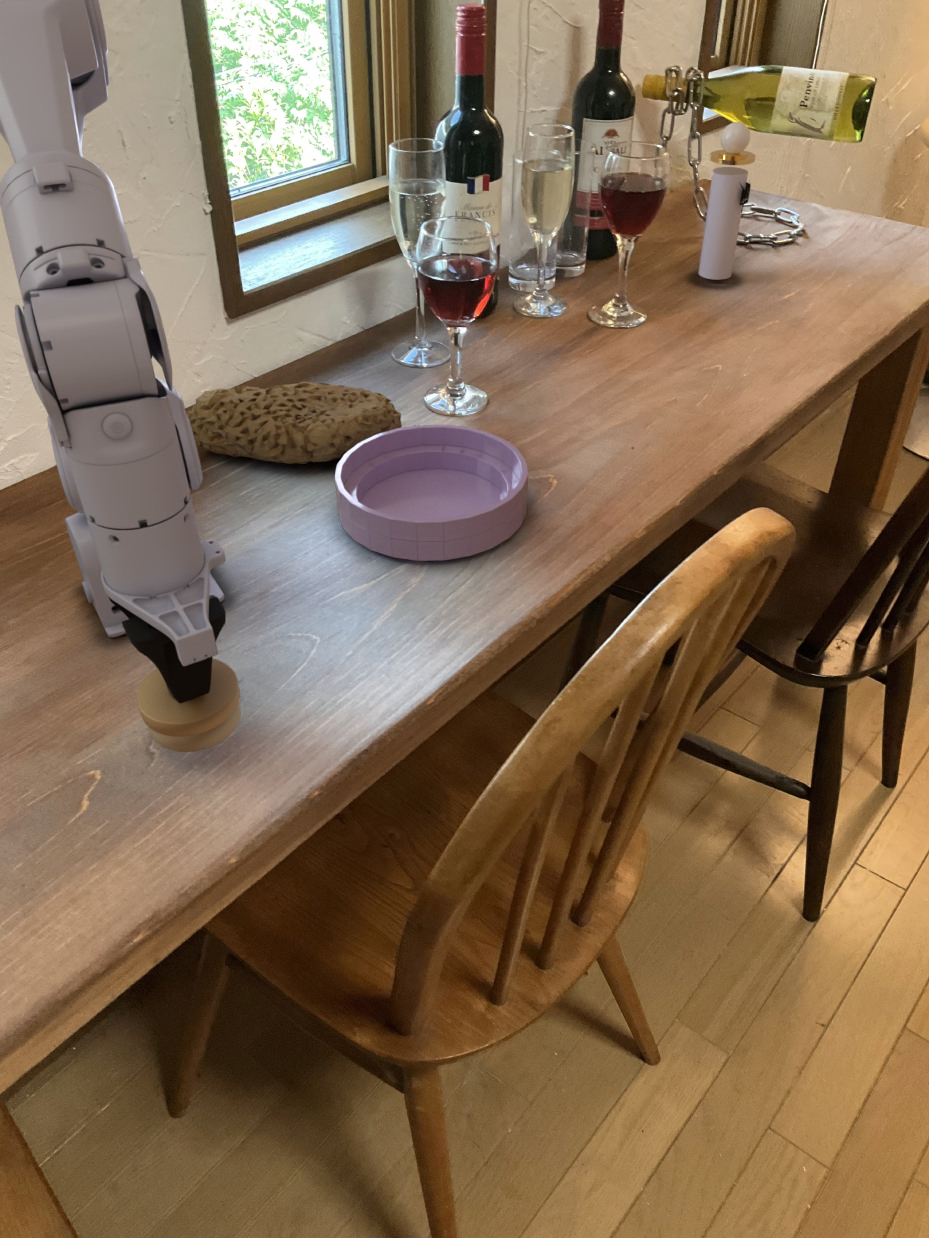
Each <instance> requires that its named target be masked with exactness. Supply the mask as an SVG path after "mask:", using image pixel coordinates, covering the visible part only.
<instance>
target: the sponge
mask: <svg viewBox="0 0 929 1238" xmlns="http://www.w3.org/2000/svg"><path fill="white" fill-rule="evenodd" d="M186 414H187V416H188V418H189V421H190V425H191V428H192V431H193V435H194V439H195V443H197V444H198V446H199V447H201V448H202V449H205V450H208V451H210V452H213V453H214V454H219V455H228V456H230V457H234V458H235V457H236V458H238V457H244V458H250V459H254V460H257V461H258V460H260V461H263V462H275V463H278V464H279V463H281V464H289V465H291V464H305V465H306V464H308V463H309V462H313V463H321V462H330V461H333V460H336V459H339V458H340V459H341V458H342V457H343V456H344V454H345V453H346V452H347V451H349V450H350V449H351V448H353V447H354V446H355V445H357V444H358V443H360V442H361V441H364V440H366V439H368V438H370V437H372V436H374V435H376V434H379V433H383V432H386V431H390V430H393V429H397V428H402V427H403V426H402V420H401V418H402V412H400V411H398V410H396V408H395V405H394V403H392V400H391V399H389V397H388V398H387V396H386V395H384V394H382V393H380V392H374V391H371V390H368V389H364V388H363V387H354V386H353V387H352V386H348V385H341V384H340V385H339V384H333V383H324V382H312V381H311V382H310V381H300V382H299V383H288V384H287V383H286V384H278V385H274V386H270V387H267V388H265V387H264V388H263V387H259V386H249V385H238V386H237V387H233V388H216V389H213V390H204V391H203V393H202V394H201V395H199V396H198V397H196V398H195V404H193V405H192V408H191V410H187V411H186Z"/></svg>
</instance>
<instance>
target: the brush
mask: <svg viewBox="0 0 929 1238" xmlns="http://www.w3.org/2000/svg"><path fill="white" fill-rule="evenodd" d="M240 689H241V688H240V685H239V681H238V677H237V674H236V672H235V670H234V669H233V667H231V666H230V665H229V664H228V663H226V662H224V661H222V660H220V659H218V658H214V657H213V659H212V675H211V686H210V692H209V693H208V694H205V695H203V696H200V697H197V698H195V699H192V700H189V701H186V702H184V703H178V702H177V701H176V699H175V698H174V697H173V695H172V694H171V692H170V690H169V688H168V686H167V685H166V683H165V681H164V679H163V677H162V675H161V673H160V671H159V670H158V668H156V669H154V670H153V671H152V672H150V673H149V675H147V676H146V677H145V678H144V680H143V681H142V683H141V684H140V686H139V688H138V691H137V695H136V703H137V706H138V707H137V708H138V710H139V713H140V716H141V719H142V721H143V723H144V724H145V725H146V726H147V728H148V731H149V734H150V736H151V738H152V740H153V741H154V742H155V743H156V744H157V745H159V746H160V747H161V748H164V749H166V750H168V751H172V752H176V753H193V752H198V751H203V750H206V749H209V748H212V747H214V746H216V745H218V744H220V743H222V742H223V741H225V740H226V739H227V738H228V737H230V736H231V735H232V734H233V732H235V730H236V729H237V728H238V725H239V723H240V721H241V719H242V718H241V717H242V709H241V704H240V700H241V690H240Z"/></svg>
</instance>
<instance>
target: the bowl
mask: <svg viewBox="0 0 929 1238" xmlns="http://www.w3.org/2000/svg"><path fill="white" fill-rule="evenodd" d="M333 479H334V487H335V497H336V506H337V515H338V518H339V521H340V523H341V527H342V528H343V530H344V531H345V532H346V533H347V534H348V535H349V537H351V538H352V540H353V541H355V542H357V543H358V544H360V545H362V546H363V547H365V548H367V549H368V550H370V551H372V552H376V553H379V554H381V555H385V556H388V557H390V558H395V559H401V560H402V559H403V560H410V561H417V562H418V561H420V562H421V561H422V562H423V561H425V562H427V561H448V560H455V559H459V558H466V557H471V556H474V555H477V554H480V553H482V552H485V551H488V550H491V549H494V548H495V547H497V546H498V545H500V544H502V543H503V542H505V541H507V540H509V539H510V538H511V537H512V536H513V535H514V534H515V533H516V532H517V531H518V530H519V528H520V527H521V526H522V525H523V523H524V520H525V518H526V515H527V512H528V492H529V491H528V490H529V470H528V462H527V460H526V459H525V458H524V456H523V455H522V453H521V451H520V450H519V449H518V448H517V447H515V446H514V445H513V444H512V443H511V442H509V441H508V440H507V439H504V438H502V437H500V436H497V435H495V434H493V433H490V432H489V431H485V430H481V429H477V428H473V427H469V426H463V425H453V424H417V425H410V426H402V428H397V429H393V430H390V431H386V432H383V433H379V434H376V435H374V436H372V437H370V438H368V439H366V440H364V441H361V442H360V443H358V444H357V445H355V446H354V447H353V448H351V449H350V450H349V451H347V452H346V453H345V454H344V456H343V457H340V460H339V461H338V462H337V464H336V467H335V473H334V477H333Z"/></svg>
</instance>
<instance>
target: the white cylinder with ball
mask: <svg viewBox="0 0 929 1238" xmlns="http://www.w3.org/2000/svg"><path fill="white" fill-rule="evenodd" d="M748 127H749V126H747V125H746V124H745V123H743V122H741V121H735V122H731V123H729V124H727V125H726V126H725V128H723V130H722V132H721V136H720V145H721V147H722V149H717V150H714V151H711V152H710V154H709V161H711V162H713V163H715V164H719V165H724V166H720V167H715V168H713V169H712V171H711V178H710V179H711V180H710V186H709V192H708V193H709V195H708V200H707V208H706V214H705V223H704V229H703V236H702V244H701V249H700V258H699V264H698V270H697V271H698V272H697V274H698V275H699V276H700V277H702V278H703V279H704V278H705V279H707V280H708V279H709V280H717V281H718V280H727V279H729V278H731V277H732V275H733V268H734V263H735V256H736V250H737V244H738V238H739V231H740V226H741V225H740V224H741V220H742V219H741V218H742V213H743V211H744V207H745V205H746V204H747V205H746V206H748V203H749V198H750V193H751V185H752V184H751V180H748V176H749V171H748V170H747V169H745V168H742V167H737V166H746V165H751V164H753V163H755V161H756V156H757V155H756V154H755V153H753V152H751V151H748V150H746V148H747V147H748V146H749V143H750V141H751V133H750V129H749V128H748ZM735 166H736V167H735ZM748 181H749V182H748Z"/></svg>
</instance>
